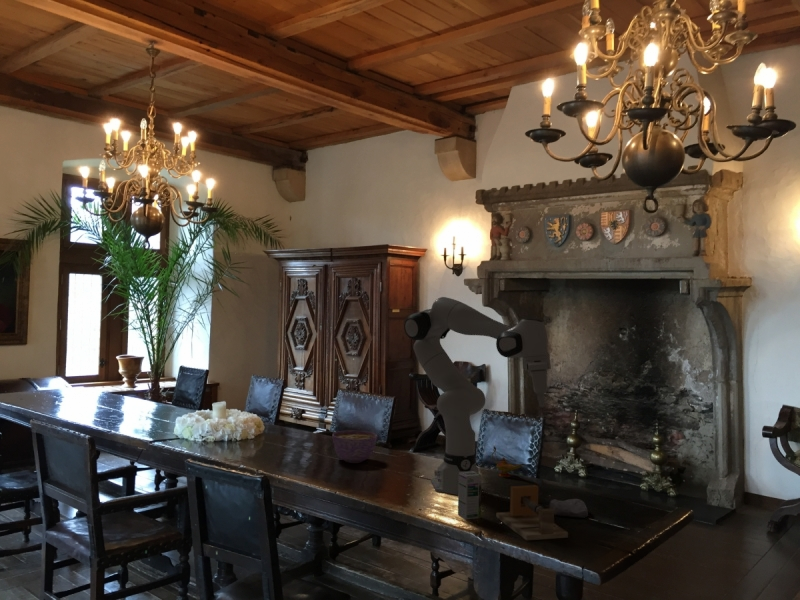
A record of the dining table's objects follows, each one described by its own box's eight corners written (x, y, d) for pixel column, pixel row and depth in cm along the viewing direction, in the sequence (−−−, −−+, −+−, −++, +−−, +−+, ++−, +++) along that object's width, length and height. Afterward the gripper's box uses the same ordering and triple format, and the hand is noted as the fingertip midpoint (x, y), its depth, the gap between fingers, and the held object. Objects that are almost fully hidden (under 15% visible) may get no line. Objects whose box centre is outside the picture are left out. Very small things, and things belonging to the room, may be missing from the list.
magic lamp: (519, 482, 264) (520, 455, 264) (485, 472, 277) (486, 446, 277) (530, 479, 268) (531, 452, 268) (496, 470, 282) (497, 444, 282)
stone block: (590, 523, 222) (581, 508, 232) (591, 510, 221) (582, 495, 231) (555, 523, 222) (548, 508, 231) (556, 510, 221) (548, 496, 230)
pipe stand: (496, 517, 219) (497, 491, 219) (534, 514, 223) (535, 489, 223) (526, 540, 198) (527, 512, 198) (567, 537, 202) (568, 509, 202)
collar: (509, 513, 215) (510, 486, 215) (534, 512, 217) (535, 485, 217) (512, 515, 213) (513, 488, 213) (537, 514, 215) (538, 486, 216)
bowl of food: (376, 456, 301) (377, 431, 301) (376, 467, 281) (377, 440, 281) (332, 455, 300) (333, 429, 300) (329, 465, 280) (330, 438, 280)
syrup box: (465, 520, 215) (467, 475, 215) (457, 514, 220) (458, 471, 220) (480, 518, 217) (482, 474, 217) (472, 513, 222) (473, 470, 222)
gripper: (527, 366, 233) (531, 405, 232) (528, 365, 213) (532, 408, 212) (545, 364, 232) (549, 404, 231) (548, 363, 212) (552, 406, 211)
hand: (541, 406), depth 221 cm, fingers open, 8 cm apart
